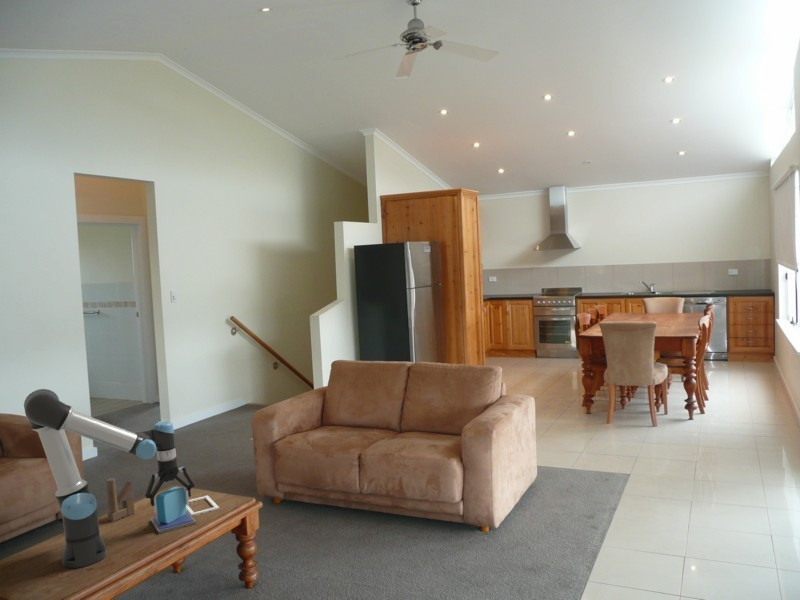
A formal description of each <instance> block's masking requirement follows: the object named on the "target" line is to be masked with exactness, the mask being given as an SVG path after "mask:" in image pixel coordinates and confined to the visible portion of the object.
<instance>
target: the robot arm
mask: <svg viewBox="0 0 800 600" xmlns="http://www.w3.org/2000/svg"><path fill="white" fill-rule="evenodd" d="M23 407H24V414H25V416H26V418H27V419H28V423H29V424H30V427H31V430H32V431H34V432H37V434H38V436H39V439H40V442H41V444H42V448H43V450H44V453H45V456H46V458H47V462H48V465H49V468H50V470H51V473H52V475H53V479H54V482H55V484H56V487H57V490H56V492H55V493H54V495H55V498H56V500H57V503H58V506H59V509H60V512H61V516H62V524H63V532H64V541H65V542H64V543H65V544H64V548H63V553H62V557H61V563H62V566H63V567H64V568H67V569H77V568H83V567H86V566H91V565H93V564H96V563H98V562H99V561H101V560H102V559H104V558H105V557H106V556H107V555H108V552H107V546H106V544H105V541H104V540H103V538H102V536H101V534H100V524H99V523H100V522H99V516H98V501H97V499H96V496H95V495H94V494H92V492H91V490H90V486H89V483H88V481H87V480H84V479H82V477H81V474H80V471H79V468H78V466H77V463H76V460H75V457H74V454H73V450H72V448H71V445H70V443H69V440H68V436H67V434H66V431H67V432H69V433H73V434H75V435H79V436H81V437H83V438H86V439H89V440H93V441H95V442H98V443H101V444H103V445H106V446H109V447H112V448H115V449H116V450H121V451H123V452H126V453H127V454H128V453H129V454H131V455H133V456H136V457H138V458H139V459H141V460H151V459H152V458H153V457H154V456H155V455H156V459H157V467H158V468H157V469H158V470H157V473H153V472H152V473H151V474H150V480H149V483H148V486H147V489H146V492H145V494H144V497H145V498H146V499H150V500H149V501H150V505H151V507H153V512H154V514H155V515H158V514H157V504H156V496H157V493H158V492H159V490H160V488H161V486H162V485H163V484H164V483H167V482H170V481H174V480H176V481H177V482H179V483H180V484H181V485H182V486H183V488H184V489H185V499H186V504H187V506H189V507H190V503H189V500H190V499H189V498H191V496H192V494H191V490H192V488H195V484H194V482H193V481H192V479H191V477H190V476H189V474H188V473H187V469H186V467H185V466H183V465H182V466H181V467H179V468H178V461H177V459H178V458H177V451H176V442H175V431H174V430H175V429H174V424H173V422H171V421H170V420H169V421H168V420H167V421H166V420H164V421H159V422H157V423H154V424H153V428H152V429H148V430H142V431H137V432H133V431H129V430H127V429H124V428H121V427H119V426H116V425H113V424H110V423H108V422H106V421H104V420H101V419H97V418H94V417H92V416H90V415H87V414H84V413H82V412H79V411H76V410H74V409H73V406H71V405H69V404H66V403H64V402H62V401H61V400H60V398H59V396H58V395H57V393H56V392H55V391H53V390H50V389H49V388H48V389H47V388H39V389H36V390H34V391H32V392H30V393H29V394H28V395H27V396H26V398H25V400H24V403H23ZM179 472H180V473H182V474H183V477H184V478H185V479H186V481H187V482H188V484H187V483H186V481H184V480H183V479H181V478H180V476H178V475H179ZM158 477H159V479H158V481H157V483H156V485H155V486H154V484H155V481H156V479H157V478H158ZM153 486H154V488H153Z"/></svg>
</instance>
